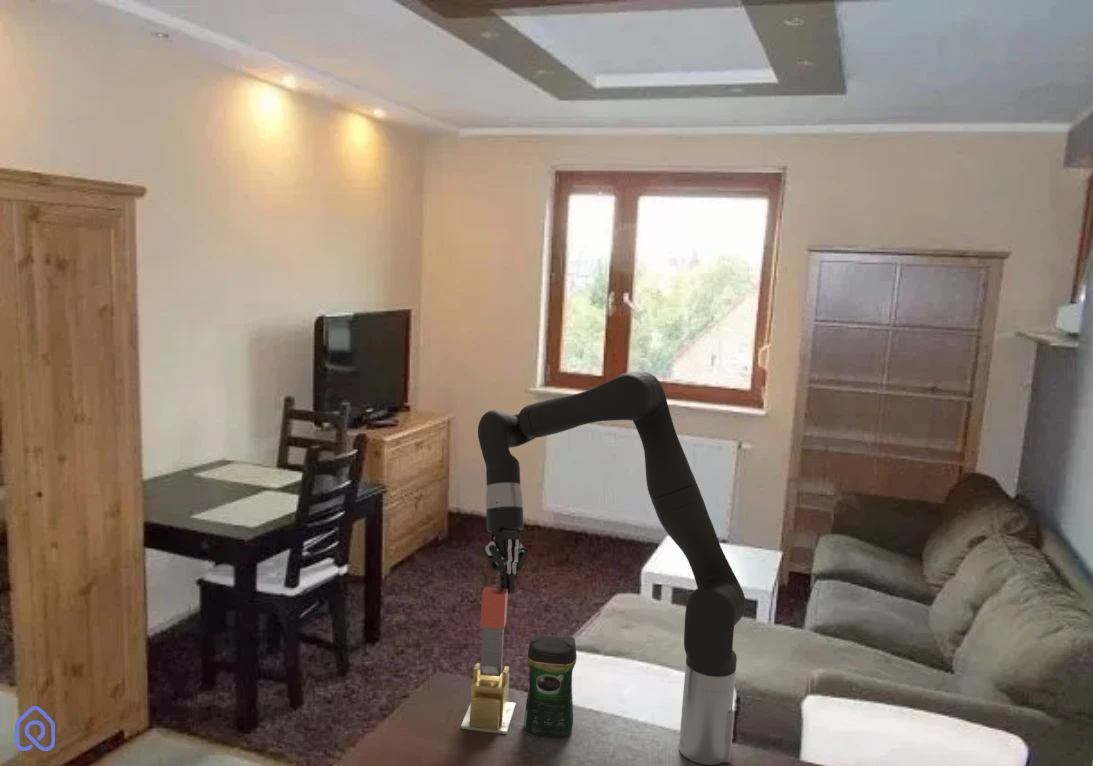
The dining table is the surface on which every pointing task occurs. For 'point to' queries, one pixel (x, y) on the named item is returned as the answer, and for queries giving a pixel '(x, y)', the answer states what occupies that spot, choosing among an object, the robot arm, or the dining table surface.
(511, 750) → the dining table surface
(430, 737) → the dining table surface
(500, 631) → the lever
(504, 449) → the robot arm
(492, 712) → the gold lever base
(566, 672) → the coffee jar
